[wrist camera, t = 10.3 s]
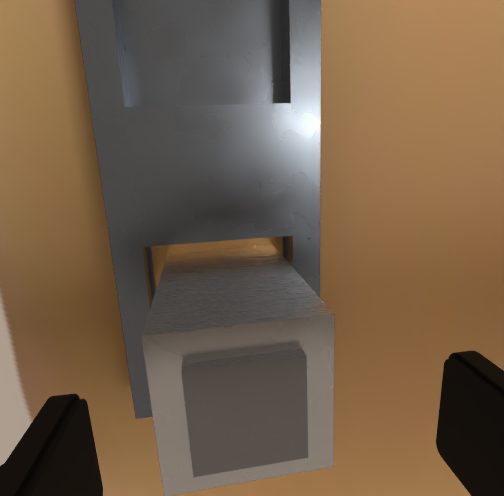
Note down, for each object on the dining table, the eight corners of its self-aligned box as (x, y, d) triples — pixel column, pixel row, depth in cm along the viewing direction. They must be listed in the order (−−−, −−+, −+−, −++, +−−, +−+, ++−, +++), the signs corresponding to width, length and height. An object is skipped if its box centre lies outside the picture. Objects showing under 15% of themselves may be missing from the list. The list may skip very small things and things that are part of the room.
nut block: (272, 245, 17) (340, 320, 9) (276, 338, 18) (338, 478, 10) (167, 254, 16) (138, 344, 8) (178, 350, 18) (162, 510, 10)
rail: (301, -98, 15) (321, -148, 12) (304, 365, 20) (319, 392, 18) (75, -111, 14) (49, -169, 11) (143, 386, 19) (135, 418, 17)
